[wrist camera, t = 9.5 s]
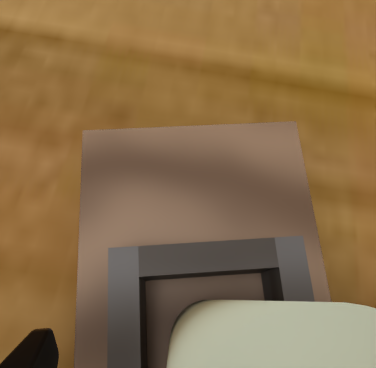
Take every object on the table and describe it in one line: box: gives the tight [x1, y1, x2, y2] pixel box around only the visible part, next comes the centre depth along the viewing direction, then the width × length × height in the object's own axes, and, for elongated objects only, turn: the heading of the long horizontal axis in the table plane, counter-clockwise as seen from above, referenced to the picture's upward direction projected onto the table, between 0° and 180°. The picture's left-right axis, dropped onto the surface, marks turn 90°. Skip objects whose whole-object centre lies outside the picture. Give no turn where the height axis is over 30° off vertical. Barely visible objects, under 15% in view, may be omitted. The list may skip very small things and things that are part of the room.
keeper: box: [74, 121, 331, 368], centre depth 14 cm, size 22×12×4 cm, turn 4°
